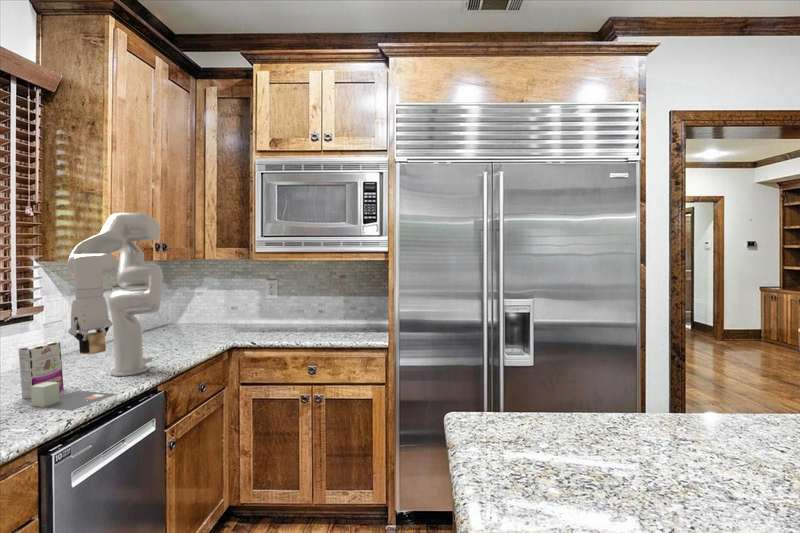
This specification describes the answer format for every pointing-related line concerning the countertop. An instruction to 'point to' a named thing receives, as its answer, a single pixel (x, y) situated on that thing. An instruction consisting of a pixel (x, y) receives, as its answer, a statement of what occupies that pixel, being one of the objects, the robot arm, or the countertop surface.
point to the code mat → (77, 400)
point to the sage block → (45, 394)
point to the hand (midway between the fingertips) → (92, 350)
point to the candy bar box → (40, 366)
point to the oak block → (96, 342)
